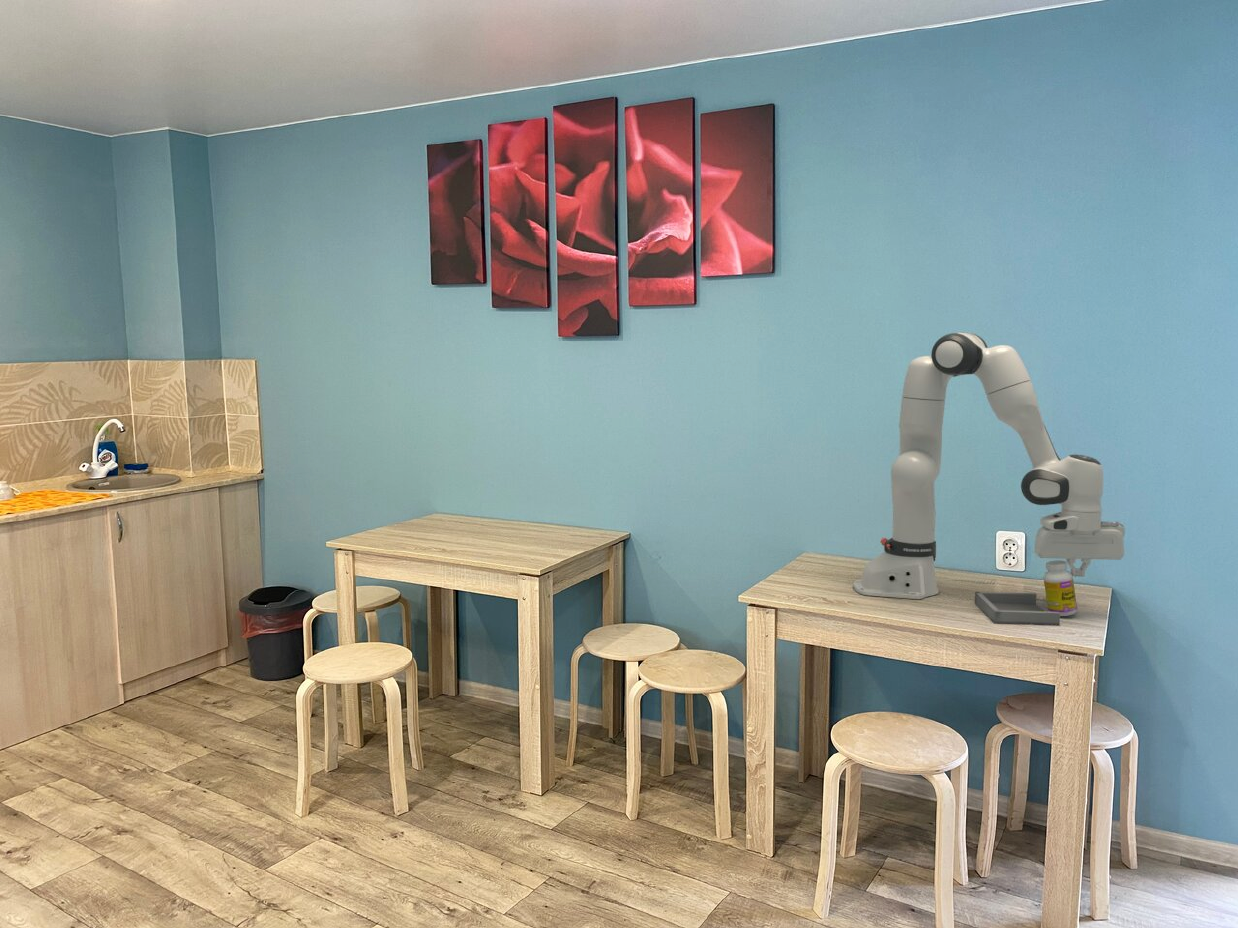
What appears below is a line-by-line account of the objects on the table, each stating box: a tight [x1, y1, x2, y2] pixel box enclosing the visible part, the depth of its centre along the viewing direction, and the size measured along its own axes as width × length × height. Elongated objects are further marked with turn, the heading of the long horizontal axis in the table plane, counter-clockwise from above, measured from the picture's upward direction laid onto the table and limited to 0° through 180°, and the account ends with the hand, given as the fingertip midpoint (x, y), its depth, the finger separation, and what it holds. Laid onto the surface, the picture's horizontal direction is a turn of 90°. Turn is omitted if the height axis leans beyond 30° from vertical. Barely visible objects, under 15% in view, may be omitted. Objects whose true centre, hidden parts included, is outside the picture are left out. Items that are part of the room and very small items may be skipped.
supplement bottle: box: [1043, 560, 1078, 617], centre depth 231 cm, size 7×7×13 cm
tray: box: [974, 591, 1061, 626], centre depth 233 cm, size 15×18×3 cm
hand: (1077, 575), depth 230 cm, fingers closed
